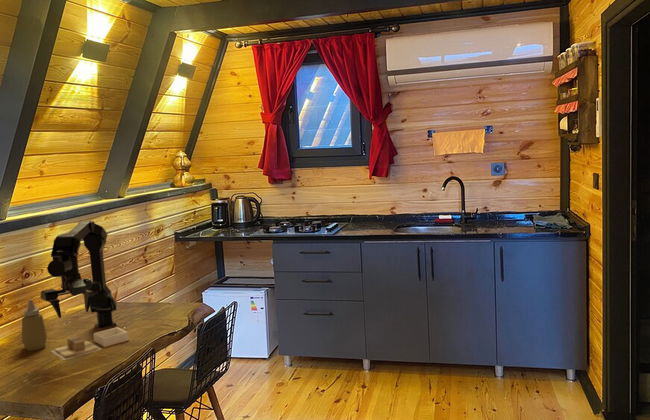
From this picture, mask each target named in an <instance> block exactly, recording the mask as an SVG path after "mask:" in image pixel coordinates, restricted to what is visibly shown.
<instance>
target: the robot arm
mask: <svg viewBox="0 0 650 420" xmlns="http://www.w3.org/2000/svg"><path fill="white" fill-rule="evenodd" d="M107 237H108V233H107V231H106V230H105V228H104V227H103V226H102V225H99V224H98V223H95V221H93V220H91V219H90V220H80V221H78V224H77V225H75V226H74V227H73V228H71V230H69V231H68V232H66V233H64V232H63V233H61V234H57V236H55V238H54V240H53V245H52V249H51V253H50V257H51V258H52V260H51V261H50V262H49V263H48V265H47V268H46V270H47V272H48V274H49V275H50V276H51V277H52V278H53V277H54V278H60V280H61V285H60V288H61V289H59V290H56V289H54V288H49V289H45V290H41V292H40V299H41V300H43V301H45V302H48V303H50V304H51V306H52V308H53V310H54V311H55V313H56V315H57V316H58V318H59V319H62V312H61V307H60V299H59V296H64V295H71V296H74V297H75V296H79V295H83V299H84V300H83V301H84V302H83V303H84V309H85V312H86V313H88V312H89V310H90V312H91V314H92V313H96V320H97V323H95V324H94V327H96V328H99V329H103V328H107V327H111V326H116V325H117V323H116V322H114V320H113V312H115V311H117V307H118V306H117V302H116V300H115V298H114V297H113V295H112V291H111V290H110V288H109V287H108V286H107V279H106V272H105V263H104V260H105V259H104V247H105V245H106V244H107ZM81 241H83V247H85V249H87V251H88V252H89V260H90V269H91V270H90V271H91V278H92V279H91V278H90V277H87V278H83V279H82V276H81V273H80V272H79V271H80V269H79V261H78V256H79V250H80V247H81V244H82V243H81Z"/></svg>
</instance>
